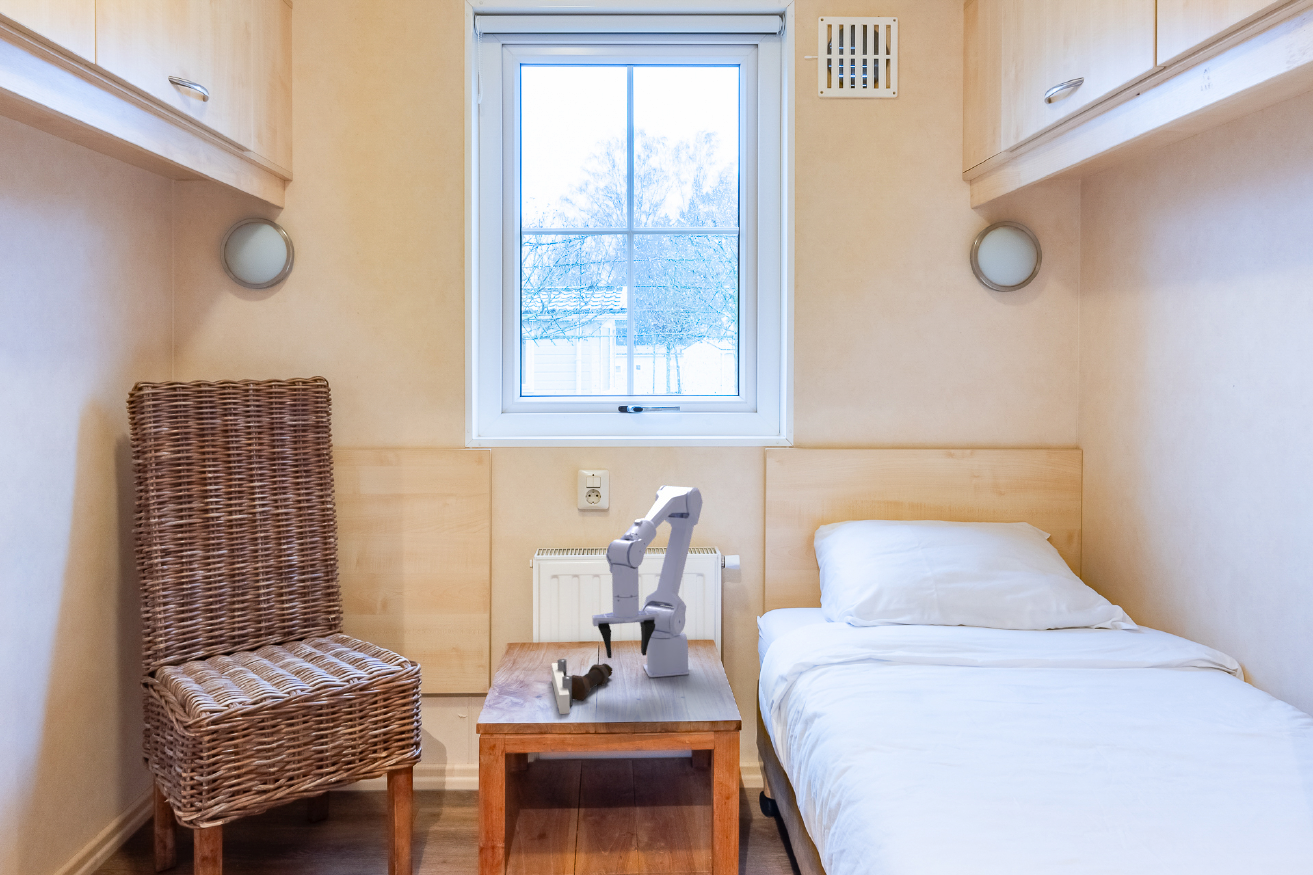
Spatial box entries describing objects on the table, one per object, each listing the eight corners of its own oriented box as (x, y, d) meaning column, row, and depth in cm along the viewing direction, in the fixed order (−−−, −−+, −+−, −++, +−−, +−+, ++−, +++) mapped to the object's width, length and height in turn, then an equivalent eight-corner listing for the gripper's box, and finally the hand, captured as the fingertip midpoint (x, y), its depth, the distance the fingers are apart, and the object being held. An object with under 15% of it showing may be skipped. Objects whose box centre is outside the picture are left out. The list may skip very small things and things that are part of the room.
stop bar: (564, 679, 189) (564, 653, 188) (574, 712, 169) (574, 684, 169) (551, 680, 188) (551, 654, 188) (559, 714, 168) (559, 685, 168)
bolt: (610, 686, 190) (578, 707, 176) (593, 672, 191) (560, 692, 177) (621, 665, 188) (590, 685, 175) (604, 652, 190) (572, 671, 176)
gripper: (595, 601, 174) (596, 664, 175) (662, 596, 177) (662, 658, 178) (590, 593, 181) (591, 653, 182) (655, 588, 184) (655, 648, 185)
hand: (626, 655), depth 180 cm, fingers open, 7 cm apart
